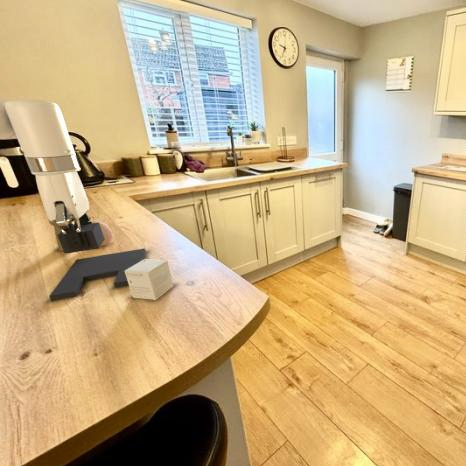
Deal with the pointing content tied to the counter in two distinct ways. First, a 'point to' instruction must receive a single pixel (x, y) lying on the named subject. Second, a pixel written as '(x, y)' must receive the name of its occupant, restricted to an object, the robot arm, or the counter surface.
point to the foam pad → (92, 235)
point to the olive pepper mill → (58, 231)
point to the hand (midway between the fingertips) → (84, 242)
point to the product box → (149, 279)
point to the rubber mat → (96, 272)
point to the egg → (105, 233)
